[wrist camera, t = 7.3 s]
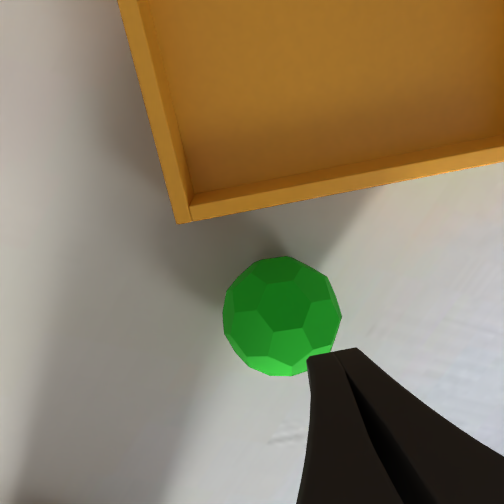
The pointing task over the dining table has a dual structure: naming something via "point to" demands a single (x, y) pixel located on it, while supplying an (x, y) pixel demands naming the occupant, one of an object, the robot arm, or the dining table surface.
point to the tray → (314, 95)
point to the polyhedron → (280, 315)
